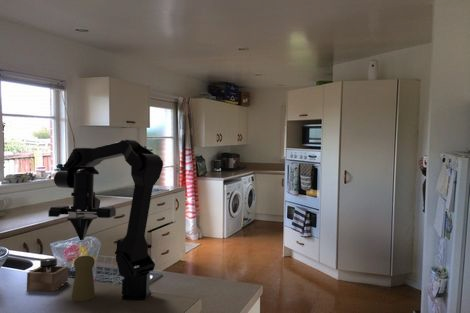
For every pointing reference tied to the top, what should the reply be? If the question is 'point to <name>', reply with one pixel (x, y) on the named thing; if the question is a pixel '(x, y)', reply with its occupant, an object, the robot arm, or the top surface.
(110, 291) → the top surface
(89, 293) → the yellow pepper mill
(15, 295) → the top surface
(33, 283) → the wooden box
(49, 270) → the plunger
